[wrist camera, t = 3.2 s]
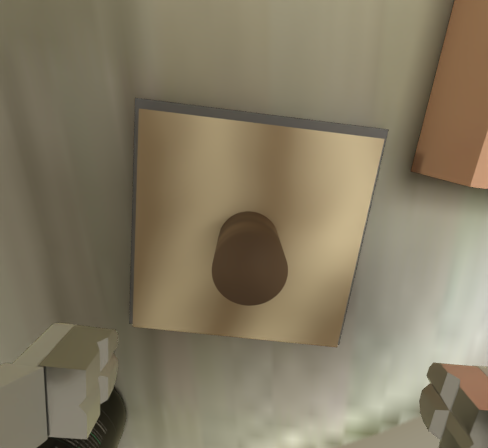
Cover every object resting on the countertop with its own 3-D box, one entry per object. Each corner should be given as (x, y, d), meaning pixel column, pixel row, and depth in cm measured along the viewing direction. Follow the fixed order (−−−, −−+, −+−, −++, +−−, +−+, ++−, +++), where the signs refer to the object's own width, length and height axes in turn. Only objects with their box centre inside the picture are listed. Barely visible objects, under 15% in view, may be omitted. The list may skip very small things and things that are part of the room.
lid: (137, 317, 20) (104, 376, 15) (144, 109, 17) (105, 102, 12) (332, 337, 21) (359, 400, 16) (376, 138, 17) (428, 142, 13)
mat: (132, 318, 21) (129, 323, 20) (138, 98, 17) (135, 98, 17) (336, 339, 21) (339, 344, 21) (383, 129, 18) (388, 129, 17)
